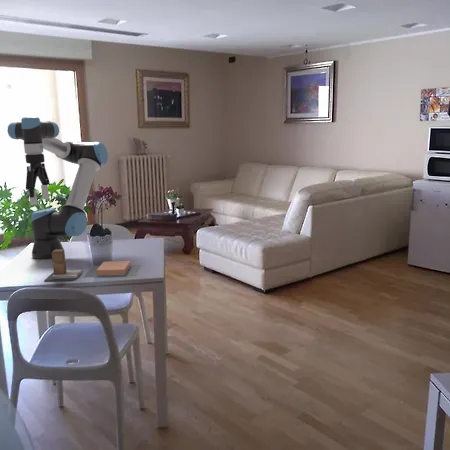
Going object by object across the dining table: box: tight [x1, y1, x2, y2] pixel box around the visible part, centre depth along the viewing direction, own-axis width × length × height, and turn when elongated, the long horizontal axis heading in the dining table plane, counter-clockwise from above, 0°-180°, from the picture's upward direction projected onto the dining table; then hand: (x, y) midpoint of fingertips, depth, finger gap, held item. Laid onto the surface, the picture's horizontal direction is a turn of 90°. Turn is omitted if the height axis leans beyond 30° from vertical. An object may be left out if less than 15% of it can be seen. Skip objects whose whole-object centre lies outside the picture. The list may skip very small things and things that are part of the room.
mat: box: [83, 264, 142, 278], centre depth 206 cm, size 15×22×1 cm
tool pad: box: [43, 271, 76, 283], centre depth 200 cm, size 12×12×1 cm
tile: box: [97, 260, 132, 276], centre depth 206 cm, size 12×2×12 cm
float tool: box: [51, 249, 83, 279], centre depth 199 cm, size 8×10×11 cm
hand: (40, 202), depth 207 cm, fingers open, 13 cm apart
